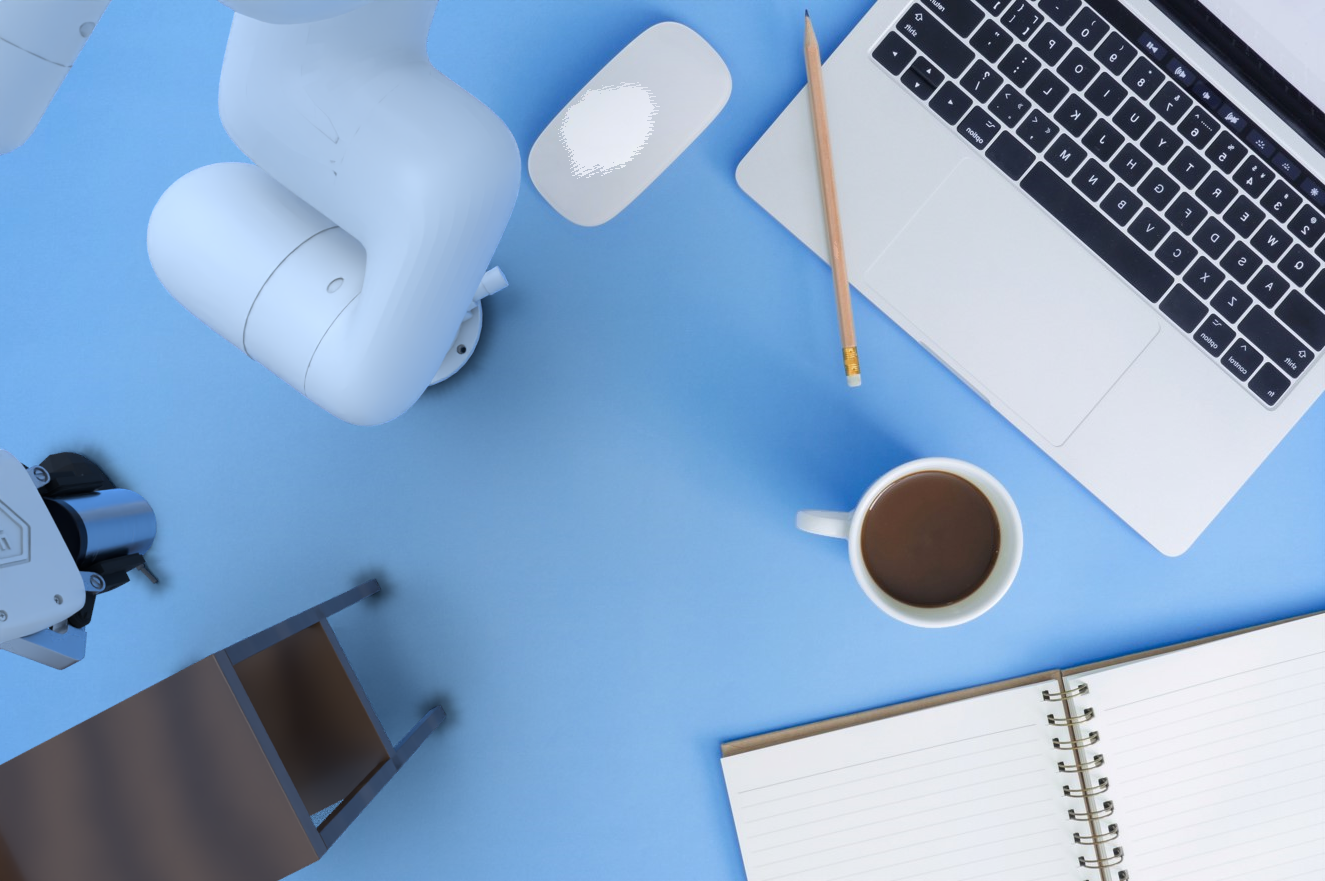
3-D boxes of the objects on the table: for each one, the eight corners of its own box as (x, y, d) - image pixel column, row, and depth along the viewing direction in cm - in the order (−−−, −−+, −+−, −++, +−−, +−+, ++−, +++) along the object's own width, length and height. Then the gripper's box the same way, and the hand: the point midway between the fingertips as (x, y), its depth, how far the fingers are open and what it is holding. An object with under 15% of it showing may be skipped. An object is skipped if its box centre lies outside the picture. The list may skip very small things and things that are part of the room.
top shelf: (223, 648, 54) (193, 662, 51) (328, 850, 54) (304, 877, 51) (-50, 791, 55) (-96, 813, 52) (52, 989, 55) (12, 1024, 52)
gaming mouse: (132, 605, 80) (102, 614, 76) (26, 483, 80) (-10, 486, 76) (182, 559, 80) (154, 566, 76) (75, 437, 80) (42, 438, 76)
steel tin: (136, 473, 57) (54, 481, 50) (172, 542, 57) (95, 560, 50) (70, 508, 57) (-20, 522, 50) (106, 577, 57) (21, 600, 50)
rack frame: (375, 577, 79) (223, 648, 54) (446, 716, 79) (328, 850, 54) (184, 677, 80) (-50, 791, 55) (254, 814, 80) (52, 989, 55)
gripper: (-28, 724, 37) (218, 622, 55) (-216, 363, 37) (92, 380, 55) (-176, 802, 37) (116, 675, 55) (-362, 446, 37) (-9, 435, 55)
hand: (102, 528), depth 55 cm, fingers closed on steel tin, 4 cm apart
